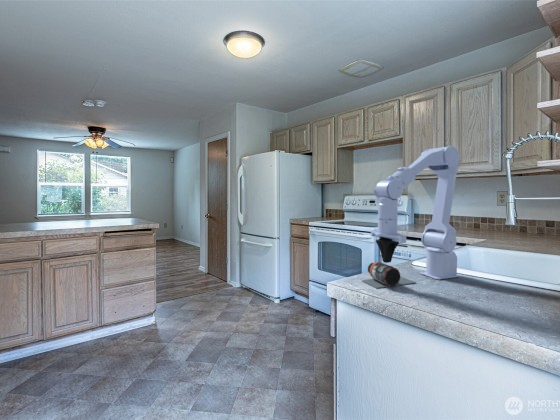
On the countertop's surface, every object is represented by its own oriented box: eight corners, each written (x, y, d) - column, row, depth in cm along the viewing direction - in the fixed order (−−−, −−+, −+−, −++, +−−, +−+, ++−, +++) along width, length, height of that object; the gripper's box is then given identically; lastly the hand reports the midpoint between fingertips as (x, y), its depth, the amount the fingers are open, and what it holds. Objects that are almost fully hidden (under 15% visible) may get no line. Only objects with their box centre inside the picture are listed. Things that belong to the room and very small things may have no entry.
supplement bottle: (403, 281, 97) (382, 271, 108) (397, 264, 96) (376, 256, 107) (388, 290, 96) (368, 279, 107) (381, 273, 95) (362, 264, 106)
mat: (398, 276, 108) (398, 275, 108) (415, 283, 100) (416, 282, 100) (361, 281, 103) (361, 280, 103) (376, 288, 96) (376, 287, 96)
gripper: (363, 217, 103) (362, 258, 104) (392, 222, 89) (391, 268, 90) (381, 216, 105) (380, 256, 106) (412, 220, 91) (411, 266, 92)
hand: (386, 262), depth 98 cm, fingers closed
